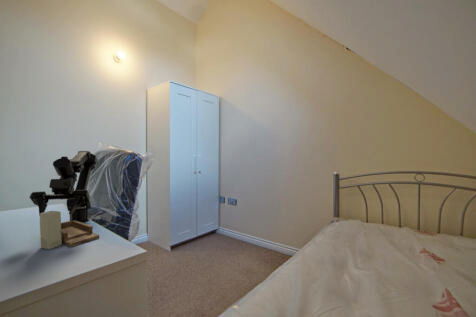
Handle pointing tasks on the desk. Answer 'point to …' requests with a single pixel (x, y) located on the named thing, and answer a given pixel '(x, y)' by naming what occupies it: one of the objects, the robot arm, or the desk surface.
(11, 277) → the desk surface
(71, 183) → the robot arm
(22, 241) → the desk surface
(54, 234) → the box
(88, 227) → the tray
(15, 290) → the desk surface
